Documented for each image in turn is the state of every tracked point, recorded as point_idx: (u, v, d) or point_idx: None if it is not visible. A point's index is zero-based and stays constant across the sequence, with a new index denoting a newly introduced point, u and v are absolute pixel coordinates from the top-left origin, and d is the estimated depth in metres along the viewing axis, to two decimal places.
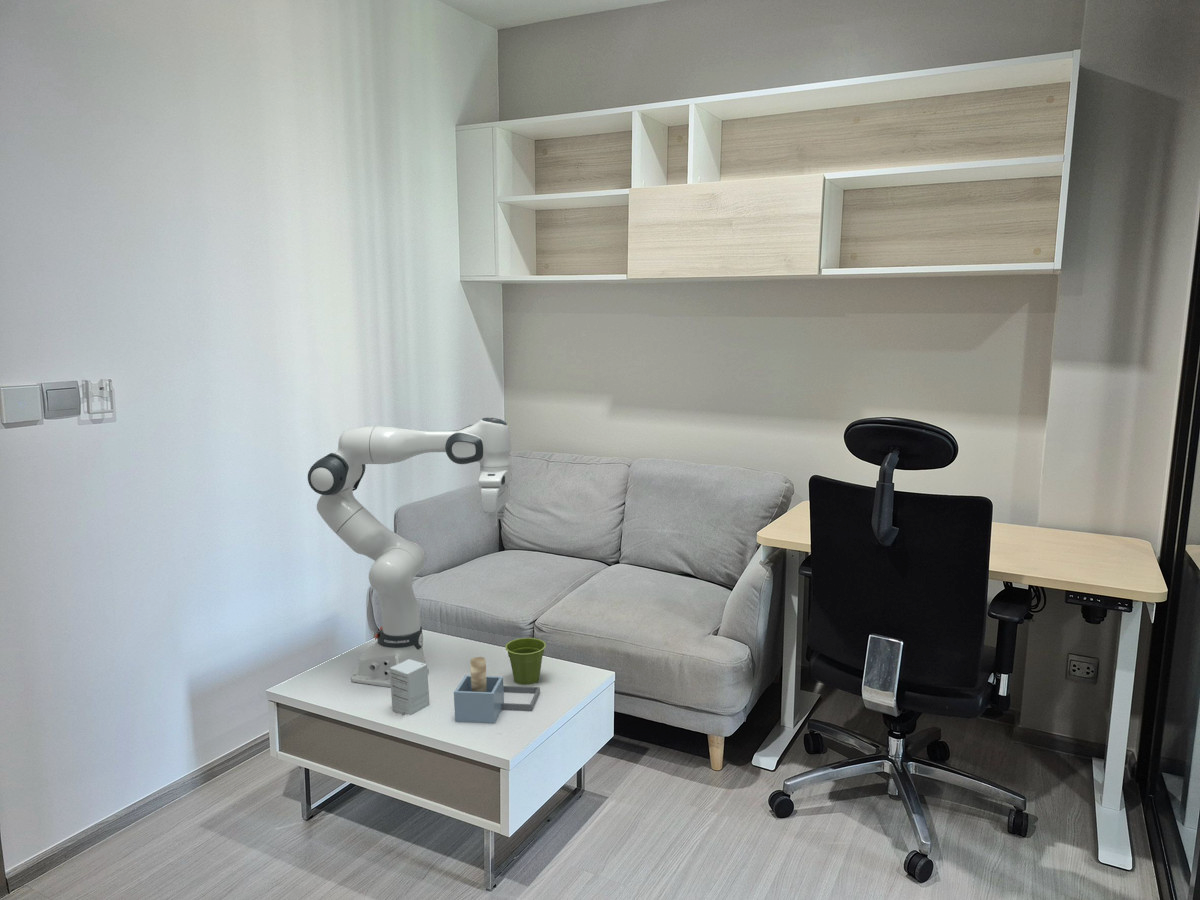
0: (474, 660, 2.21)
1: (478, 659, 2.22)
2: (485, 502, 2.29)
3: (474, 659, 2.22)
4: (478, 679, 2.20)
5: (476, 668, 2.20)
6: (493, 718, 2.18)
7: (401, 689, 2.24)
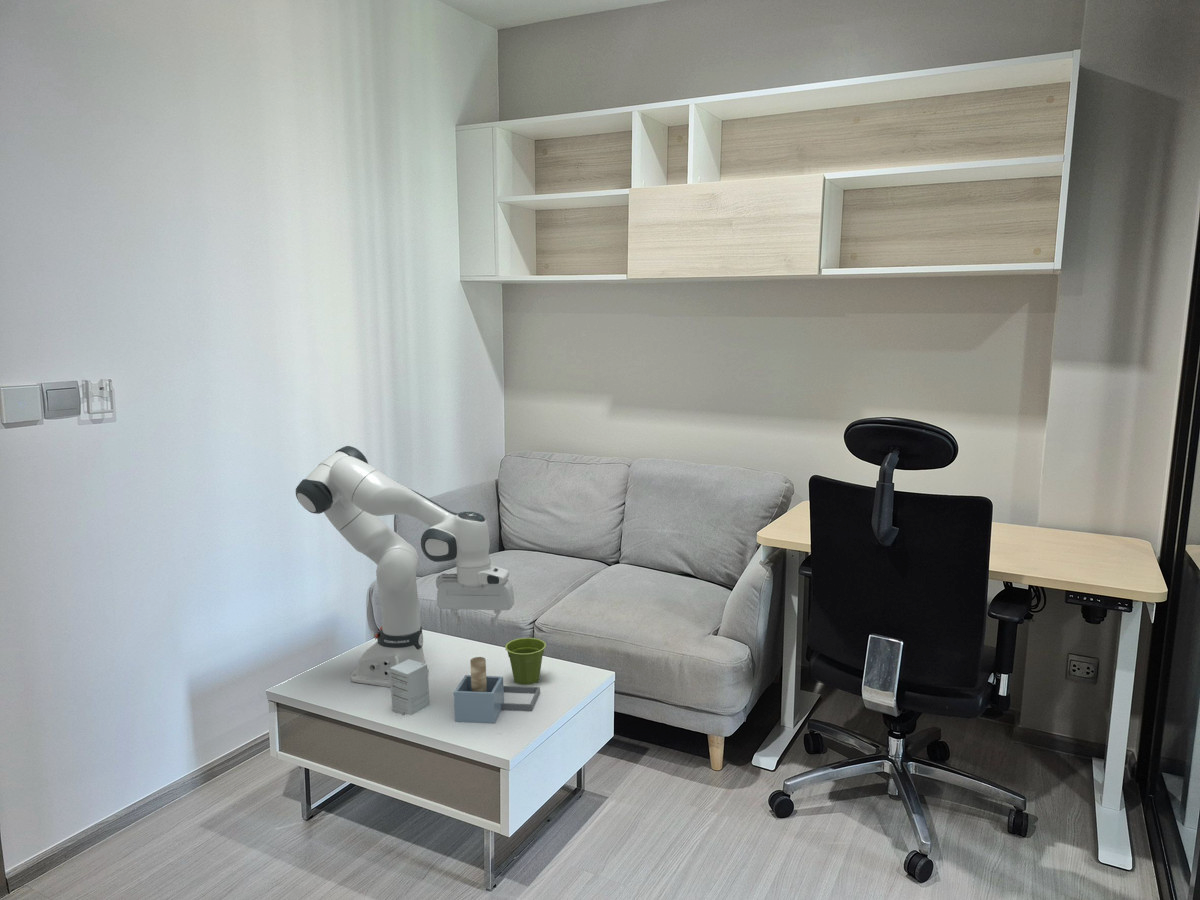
0: (474, 660, 2.21)
1: (478, 659, 2.22)
2: (511, 596, 2.17)
3: (474, 659, 2.22)
4: (478, 679, 2.20)
5: (476, 668, 2.20)
6: (493, 718, 2.18)
7: (401, 689, 2.24)
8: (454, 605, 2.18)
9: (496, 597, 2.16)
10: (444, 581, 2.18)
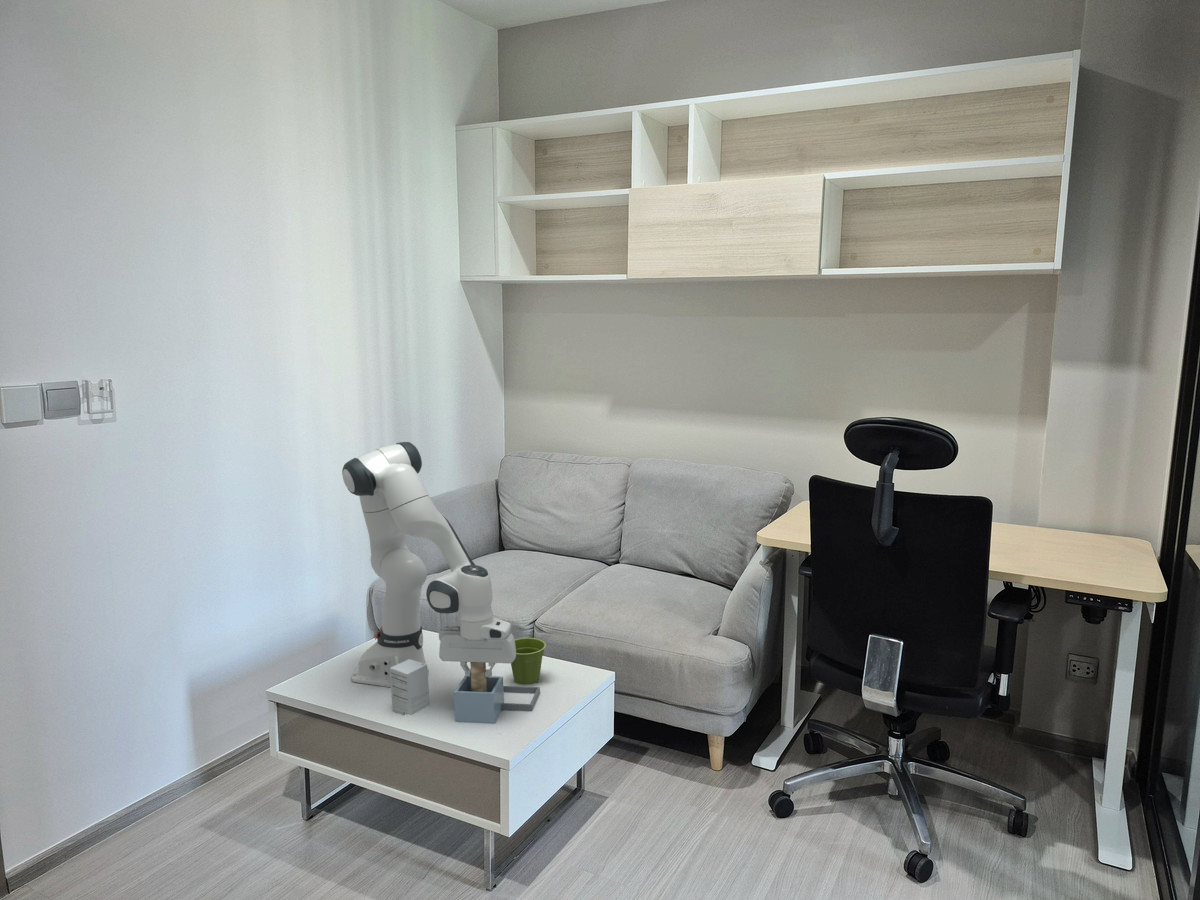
0: None
1: None
2: (513, 650, 2.19)
3: None
4: (477, 679, 2.20)
5: (476, 668, 2.20)
6: (493, 718, 2.18)
7: (401, 689, 2.24)
8: (456, 657, 2.20)
9: (498, 650, 2.19)
10: (447, 634, 2.21)
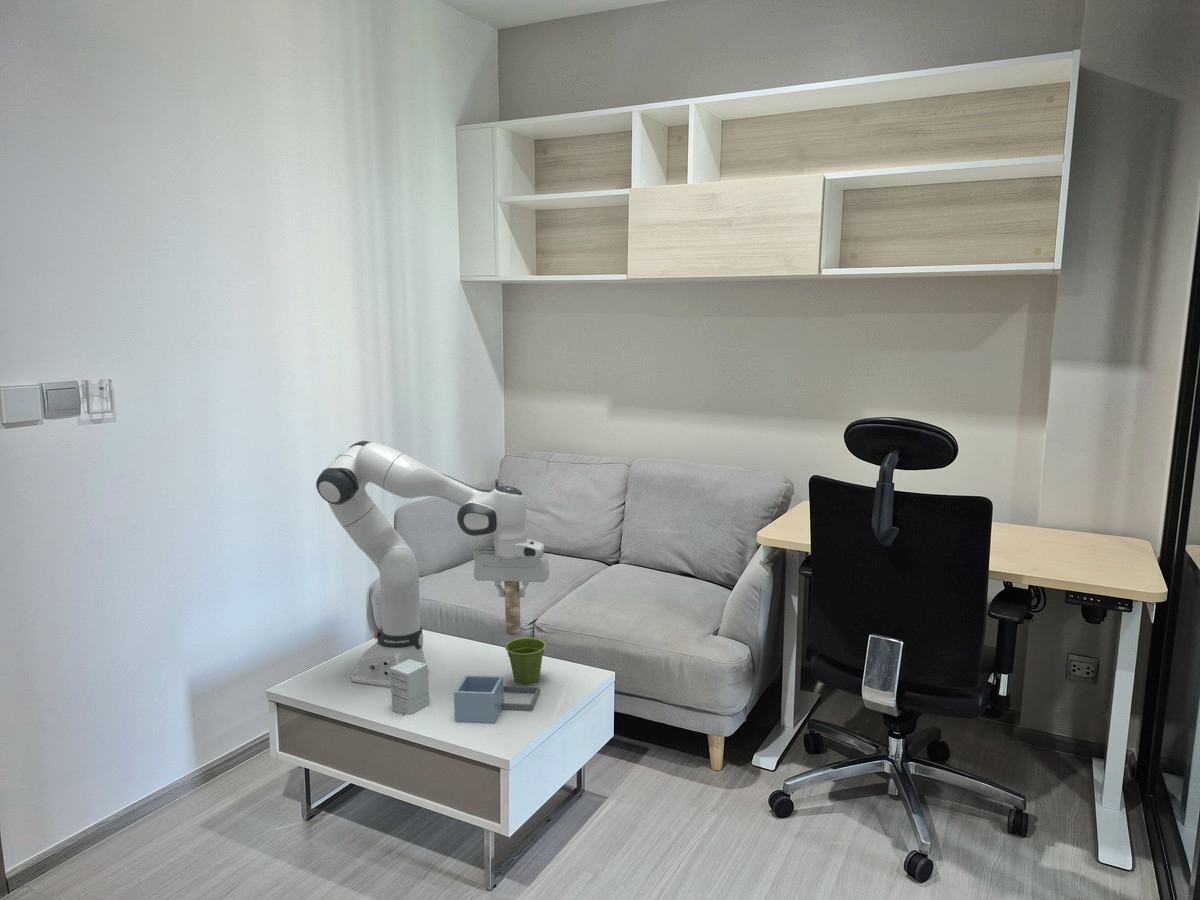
0: None
1: None
2: (546, 569, 2.23)
3: None
4: (511, 598, 2.24)
5: (510, 587, 2.24)
6: (493, 718, 2.18)
7: (401, 689, 2.24)
8: (491, 577, 2.24)
9: (532, 569, 2.22)
10: (481, 553, 2.24)
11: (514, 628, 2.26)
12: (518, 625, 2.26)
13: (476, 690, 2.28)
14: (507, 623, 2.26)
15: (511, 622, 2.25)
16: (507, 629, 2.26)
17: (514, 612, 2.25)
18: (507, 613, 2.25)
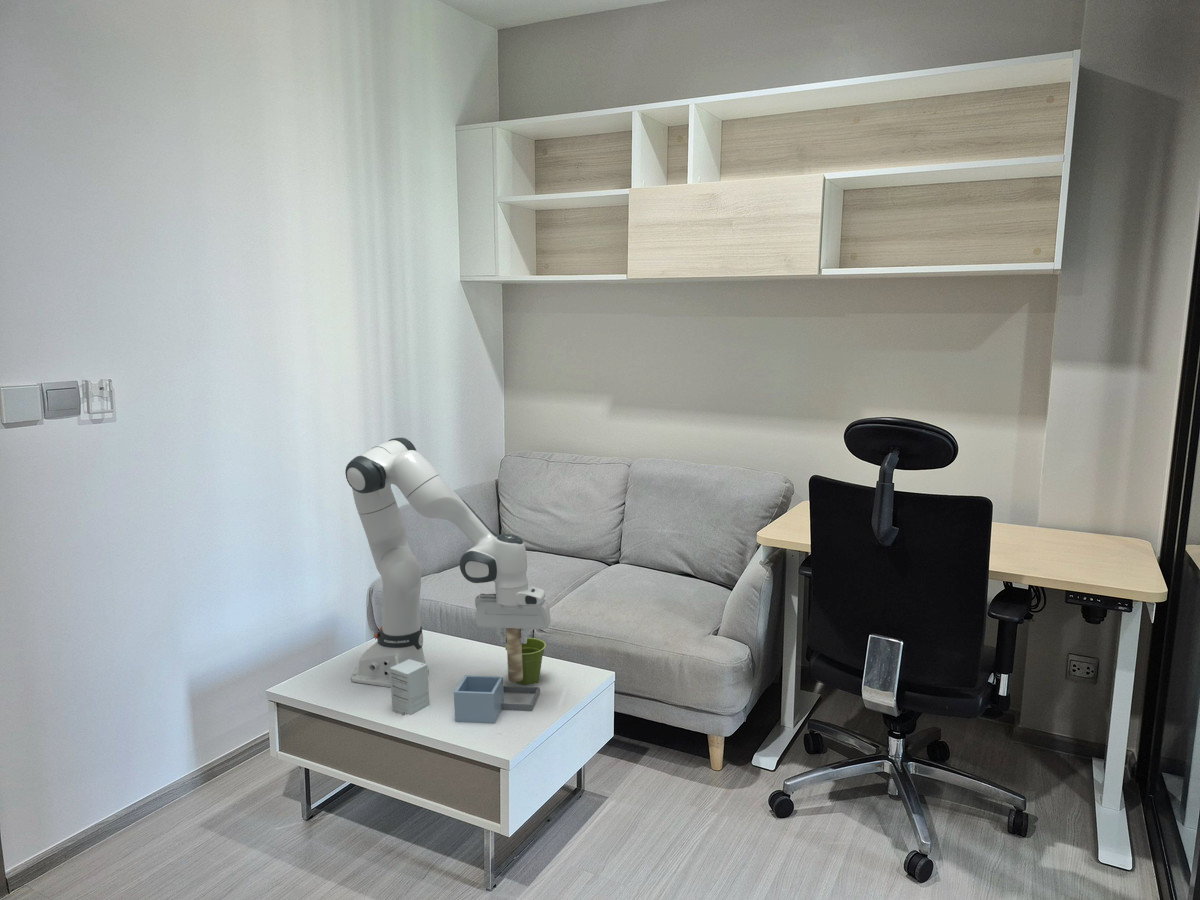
0: None
1: None
2: (547, 616, 2.24)
3: None
4: (513, 645, 2.26)
5: (512, 634, 2.26)
6: (493, 718, 2.18)
7: (401, 689, 2.24)
8: (493, 624, 2.26)
9: (534, 616, 2.24)
10: (483, 601, 2.26)
11: (516, 674, 2.28)
12: (520, 671, 2.28)
13: (476, 690, 2.28)
14: (509, 669, 2.28)
15: (513, 669, 2.27)
16: (509, 675, 2.28)
17: (516, 658, 2.27)
18: (509, 660, 2.27)
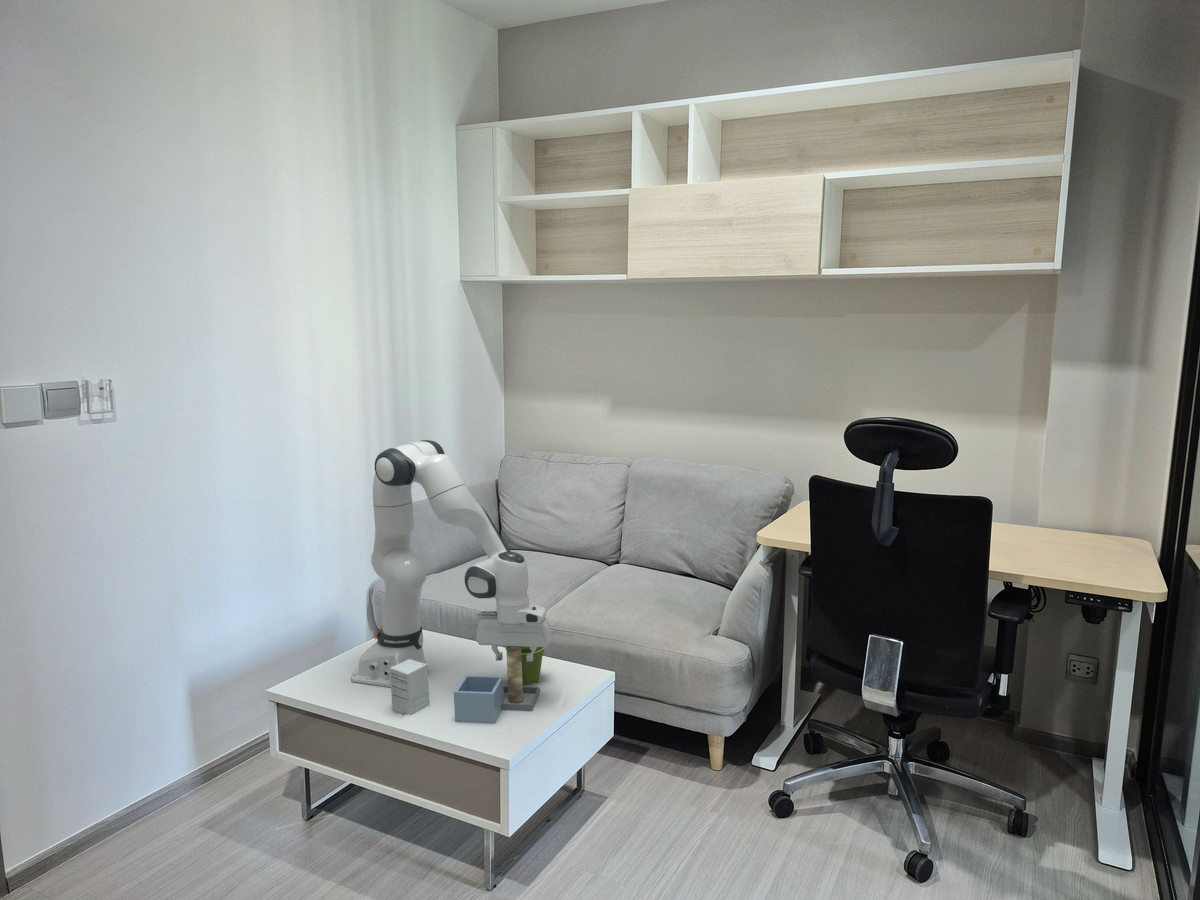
0: (510, 650, 2.28)
1: (513, 649, 2.29)
2: (548, 634, 2.25)
3: (510, 649, 2.29)
4: (514, 668, 2.27)
5: (512, 657, 2.27)
6: (493, 718, 2.18)
7: (401, 689, 2.24)
8: (493, 641, 2.27)
9: (534, 634, 2.25)
10: (484, 618, 2.27)
11: (516, 697, 2.29)
12: (520, 694, 2.29)
13: (476, 690, 2.28)
14: (509, 692, 2.29)
15: (514, 692, 2.28)
16: (509, 698, 2.29)
17: (516, 681, 2.28)
18: (509, 683, 2.29)
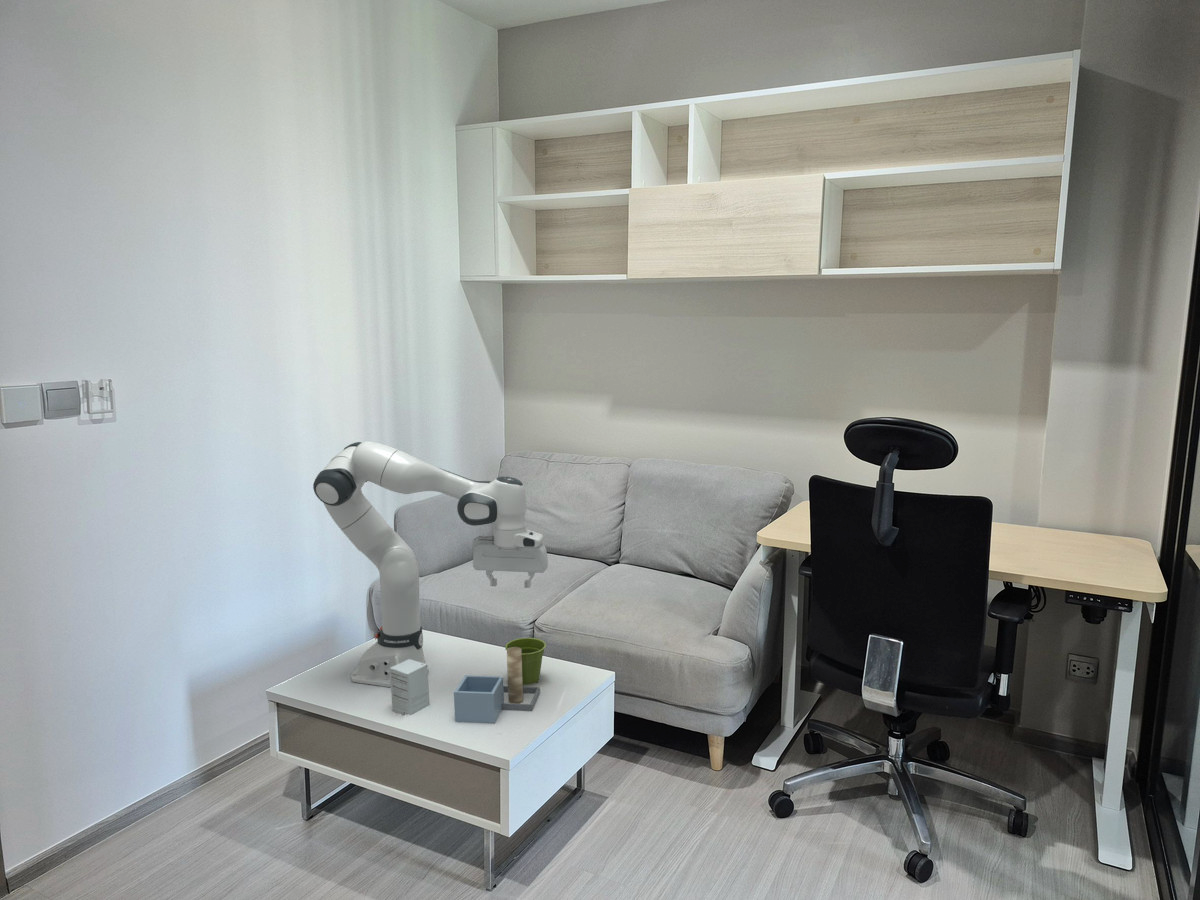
0: (510, 650, 2.28)
1: (514, 649, 2.29)
2: (545, 559, 2.24)
3: (510, 649, 2.29)
4: (514, 668, 2.27)
5: (512, 657, 2.27)
6: (493, 718, 2.18)
7: (401, 689, 2.24)
8: (490, 566, 2.25)
9: (531, 559, 2.24)
10: (481, 543, 2.26)
11: (516, 697, 2.29)
12: (520, 694, 2.29)
13: (476, 690, 2.28)
14: (509, 692, 2.29)
15: (514, 692, 2.28)
16: (509, 698, 2.29)
17: (517, 681, 2.28)
18: (509, 683, 2.29)
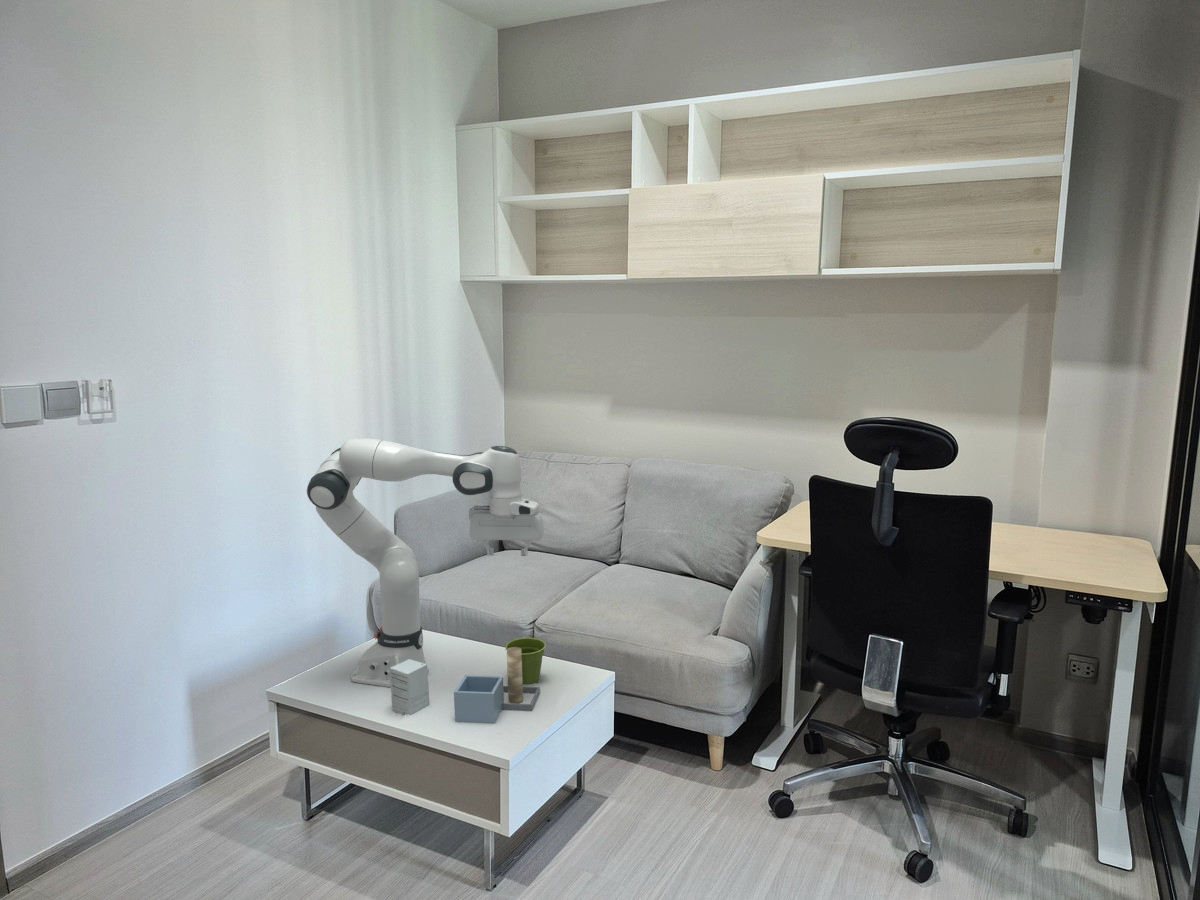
0: (510, 650, 2.28)
1: (514, 649, 2.29)
2: (541, 527, 2.25)
3: (510, 649, 2.29)
4: (514, 668, 2.27)
5: (512, 657, 2.27)
6: (493, 718, 2.18)
7: (401, 689, 2.24)
8: (486, 536, 2.27)
9: (527, 527, 2.25)
10: (477, 512, 2.27)
11: (516, 697, 2.29)
12: (520, 694, 2.29)
13: (476, 690, 2.28)
14: (509, 692, 2.29)
15: (514, 692, 2.28)
16: (509, 698, 2.29)
17: (517, 681, 2.28)
18: (509, 683, 2.29)
